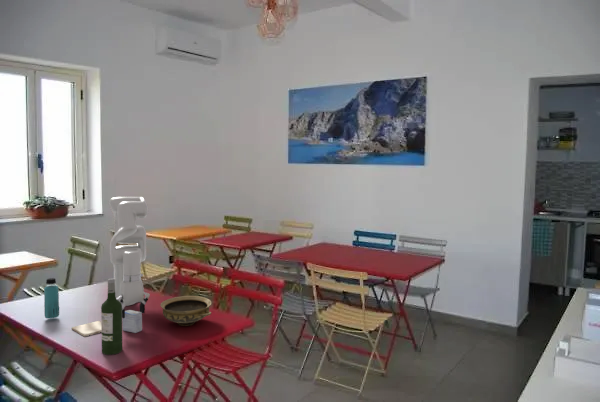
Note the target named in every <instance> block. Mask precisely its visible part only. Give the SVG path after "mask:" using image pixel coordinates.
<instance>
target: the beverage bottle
mask: <svg viewBox="0 0 600 402" xmlns="http://www.w3.org/2000/svg"><path fill="white" fill-rule="evenodd" d="M45 283H46V286H45V287H44V288H43V291H44V292H43V295H44V296H43V298H44V306H43V307H44V318H45V319H54V318H55V319H56V318H58V317H59V315H60V302H59V301H60V294H59V286H58V285H57V284H56V283H57V281H56V278H54V277H52V278H51V277H50V278H46V281H45Z"/></svg>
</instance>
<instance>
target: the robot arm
mask: <svg viewBox="0 0 600 402" xmlns="http://www.w3.org/2000/svg"><path fill="white" fill-rule="evenodd" d="M108 202H109V204H108V205H109V208H110V211H111V213H112V216H113V220H114V235H113V236H111V239H110V242H109V258H110V263H111V264H112V266H113V278H114V279H115V297H116V299H117V300H119V301H120V302H121V304H122V318H125V311H126V309H125V307H128V306H132V305H135V304H137V303H139V312H142V314H145V310H146V304H147V302H148V301H149V298H150V296H151V294H150V293H149V292H145V290H144V283H143V280H142V277H143V276H144V274H143V273H142V271H141V267H142V266H141V263H142V262H144V261H146V258H147V231H146V228H145V226H143V225H138V224H137V219H145V218H147V217H148V215H149V206H148V203H147V201H146V199H145V198H144V197H143V196H116V197H112V198H110V199H109V201H108ZM117 244H121V245H117ZM122 244H123V245H122ZM124 244H125V245H124Z"/></svg>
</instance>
